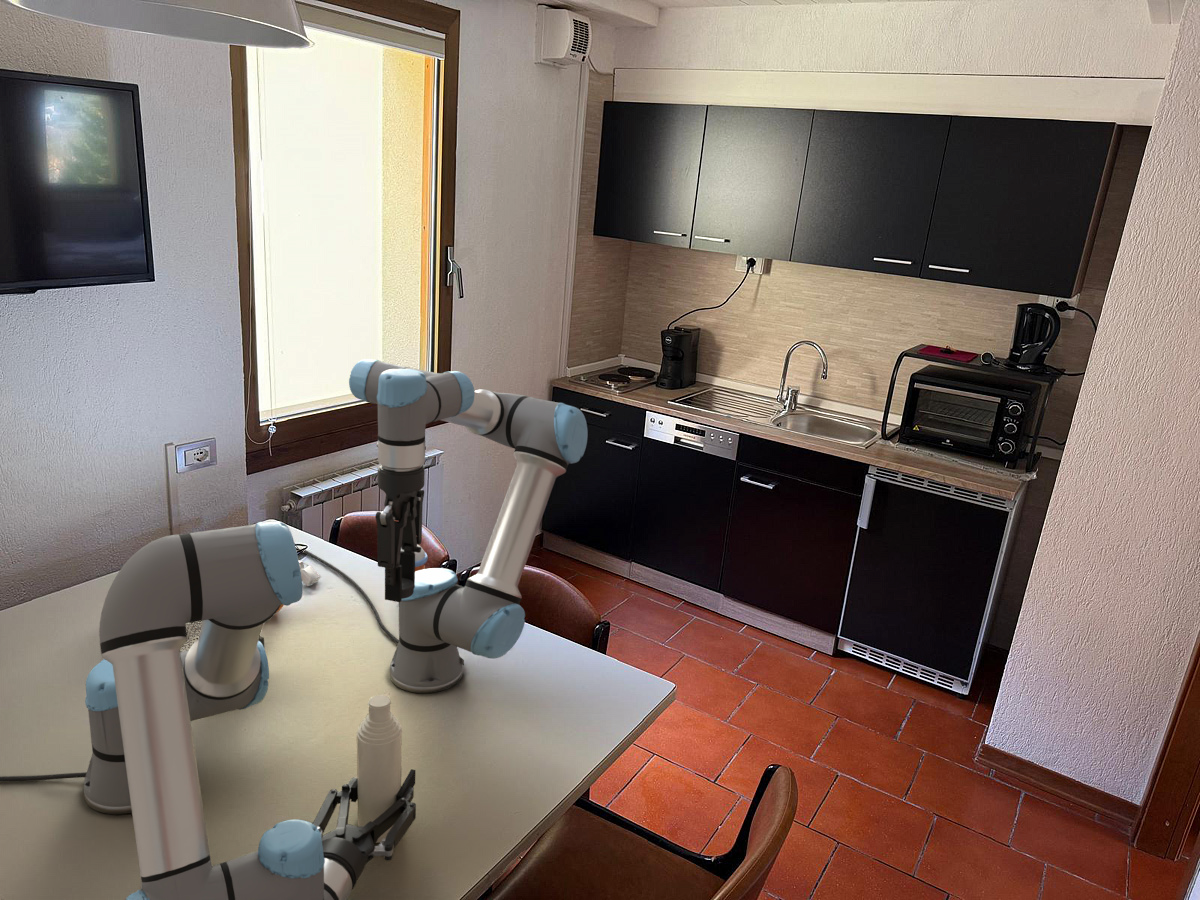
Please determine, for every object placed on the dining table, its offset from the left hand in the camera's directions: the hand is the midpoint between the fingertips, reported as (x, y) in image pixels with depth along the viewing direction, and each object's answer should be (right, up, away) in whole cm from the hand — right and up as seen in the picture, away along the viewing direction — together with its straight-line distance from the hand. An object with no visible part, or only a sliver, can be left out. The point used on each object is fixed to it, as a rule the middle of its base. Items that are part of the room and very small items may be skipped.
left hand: (391, 772), depth 142 cm
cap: (0, +30, +4) cm, 31 cm away
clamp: (-46, +21, +79) cm, 94 cm away
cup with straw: (-14, +17, +74) cm, 77 cm away
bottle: (-1, -8, -3) cm, 8 cm away
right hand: (0, +29, +5) cm, 29 cm away
